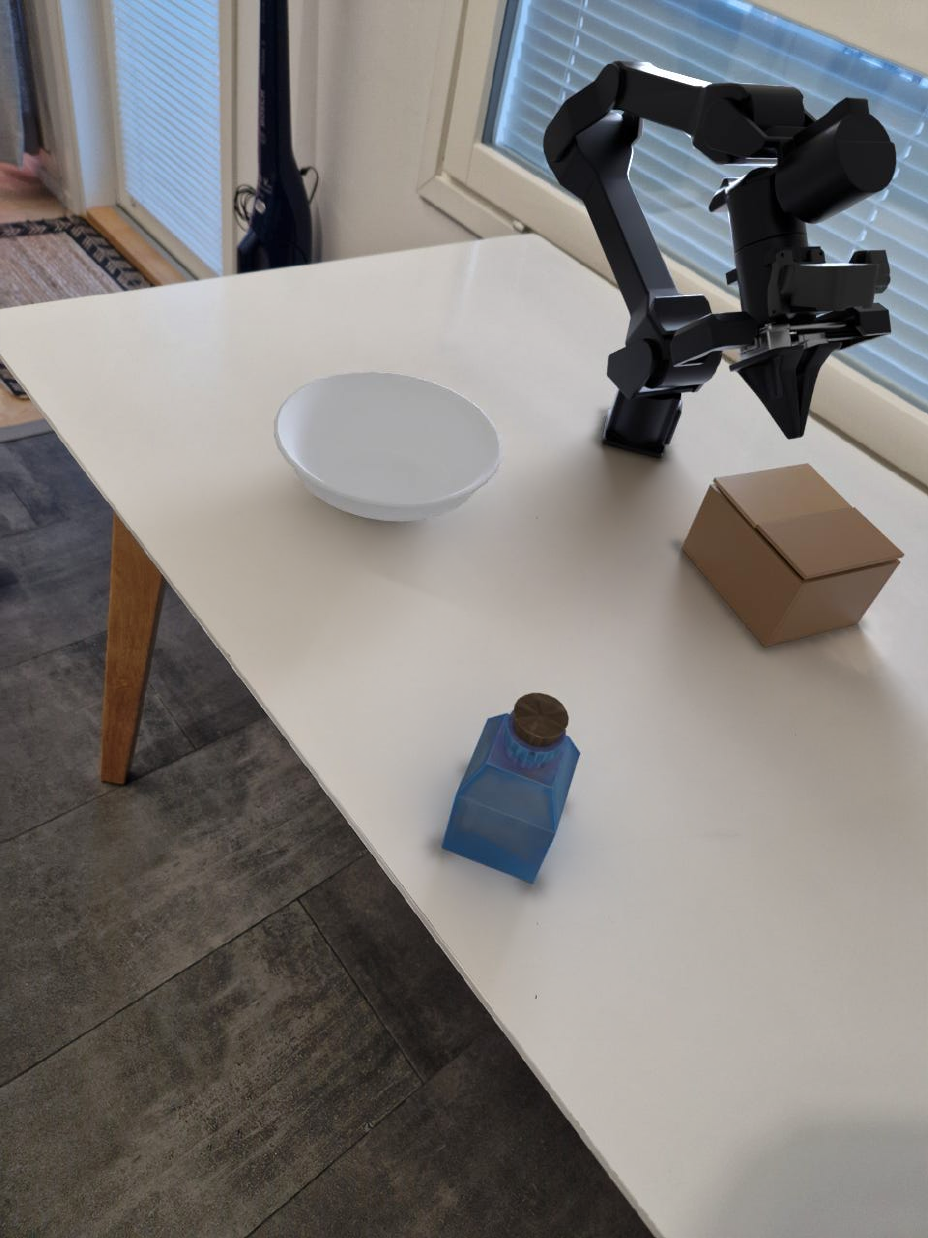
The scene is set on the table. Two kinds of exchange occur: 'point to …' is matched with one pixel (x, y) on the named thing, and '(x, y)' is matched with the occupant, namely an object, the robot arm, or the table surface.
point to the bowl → (387, 444)
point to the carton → (791, 567)
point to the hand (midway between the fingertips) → (795, 438)
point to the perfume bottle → (515, 788)
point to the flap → (780, 494)
